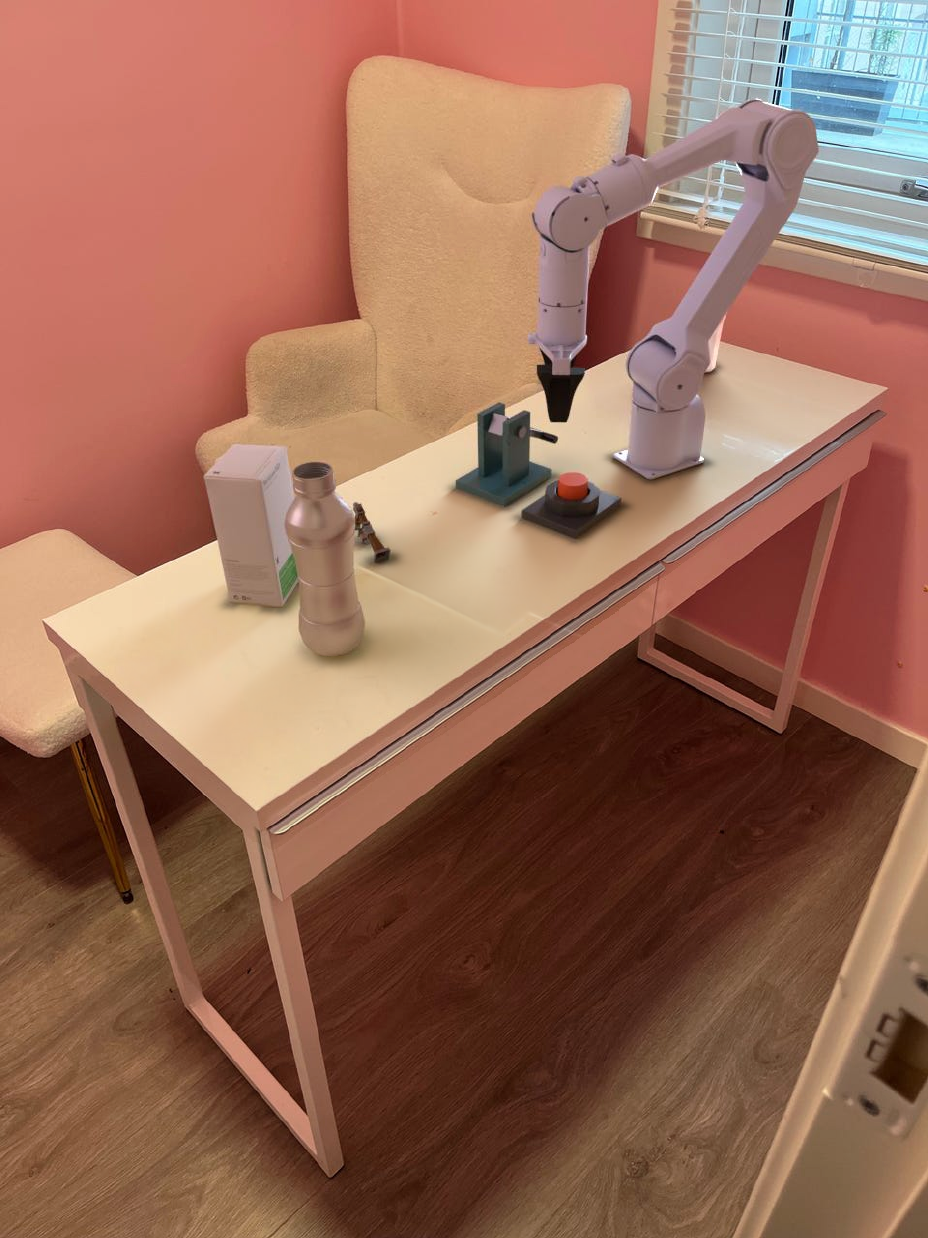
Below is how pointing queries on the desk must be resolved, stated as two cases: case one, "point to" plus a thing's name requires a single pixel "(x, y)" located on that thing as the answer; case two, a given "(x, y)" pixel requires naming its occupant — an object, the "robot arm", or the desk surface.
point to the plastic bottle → (324, 562)
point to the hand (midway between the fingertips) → (558, 408)
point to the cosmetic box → (253, 523)
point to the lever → (497, 429)
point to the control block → (571, 510)
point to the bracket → (503, 460)
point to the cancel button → (572, 485)
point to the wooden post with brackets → (368, 533)
